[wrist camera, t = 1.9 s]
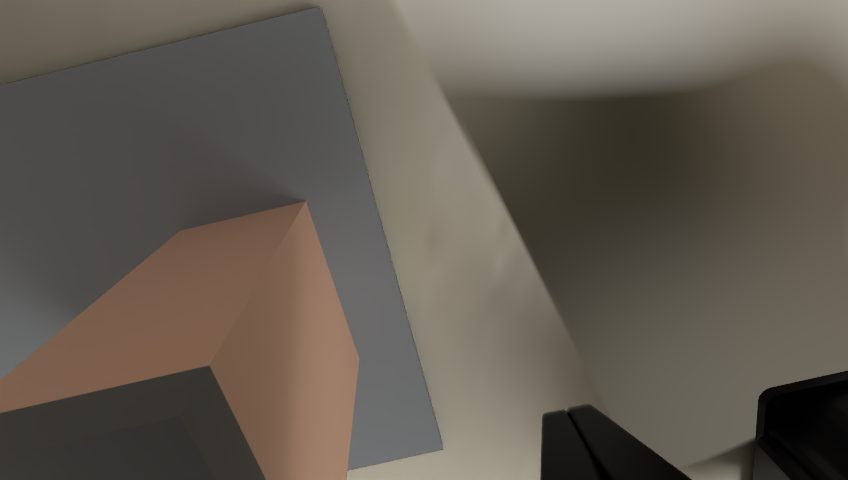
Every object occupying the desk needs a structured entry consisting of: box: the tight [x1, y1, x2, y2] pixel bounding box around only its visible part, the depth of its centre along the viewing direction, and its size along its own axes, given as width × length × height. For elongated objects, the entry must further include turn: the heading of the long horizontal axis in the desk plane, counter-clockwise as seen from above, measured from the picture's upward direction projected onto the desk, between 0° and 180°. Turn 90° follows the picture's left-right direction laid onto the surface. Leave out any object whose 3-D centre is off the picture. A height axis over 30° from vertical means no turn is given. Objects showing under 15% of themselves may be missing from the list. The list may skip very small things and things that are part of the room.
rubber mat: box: [0, 7, 443, 471], centre depth 16 cm, size 18×16×1 cm
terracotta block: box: [0, 201, 359, 480], centre depth 11 cm, size 4×6×9 cm, turn 13°
